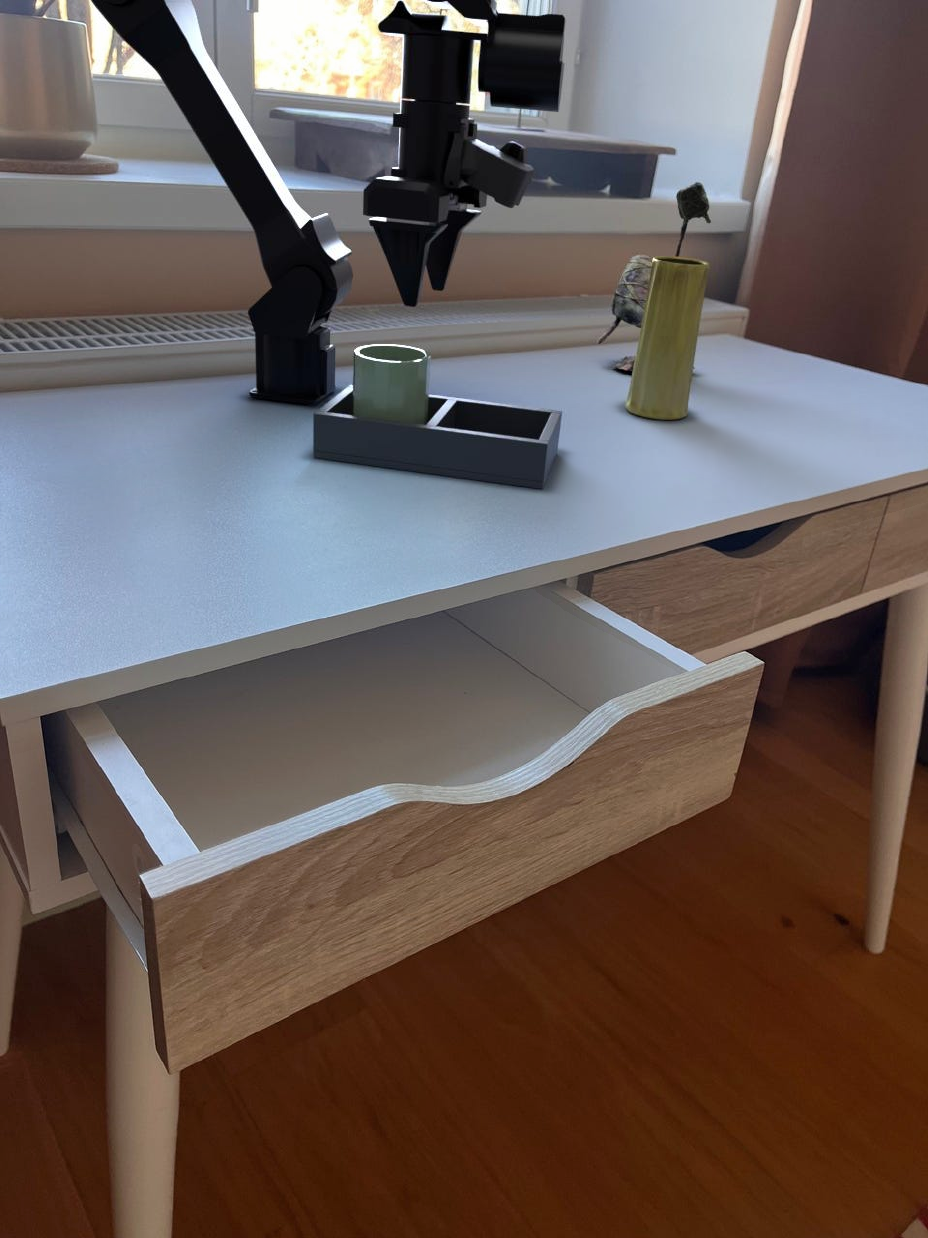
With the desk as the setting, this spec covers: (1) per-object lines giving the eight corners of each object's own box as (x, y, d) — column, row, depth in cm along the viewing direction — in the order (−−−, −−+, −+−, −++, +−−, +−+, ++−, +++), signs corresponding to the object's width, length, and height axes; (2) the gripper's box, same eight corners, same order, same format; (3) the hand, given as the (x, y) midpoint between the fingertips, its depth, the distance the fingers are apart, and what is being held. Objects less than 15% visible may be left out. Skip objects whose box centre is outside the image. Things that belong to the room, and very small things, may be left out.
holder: (542, 489, 76) (547, 443, 75) (313, 457, 79) (313, 413, 77) (557, 452, 85) (562, 411, 83) (349, 425, 88) (350, 384, 86)
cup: (343, 444, 80) (344, 356, 77) (364, 424, 85) (366, 341, 82) (415, 454, 79) (420, 365, 76) (432, 433, 84) (437, 349, 81)
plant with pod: (618, 354, 121) (643, 174, 112) (703, 374, 115) (738, 185, 106) (582, 364, 115) (606, 174, 106) (670, 385, 109) (704, 186, 100)
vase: (686, 423, 96) (715, 267, 89) (623, 415, 97) (646, 260, 90) (687, 407, 101) (713, 259, 94) (626, 400, 102) (648, 252, 95)
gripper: (508, 108, 73) (490, 327, 80) (549, 111, 89) (531, 292, 96) (363, 96, 75) (358, 311, 82) (429, 101, 91) (420, 279, 98)
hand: (425, 297), depth 89 cm, fingers open, 9 cm apart
